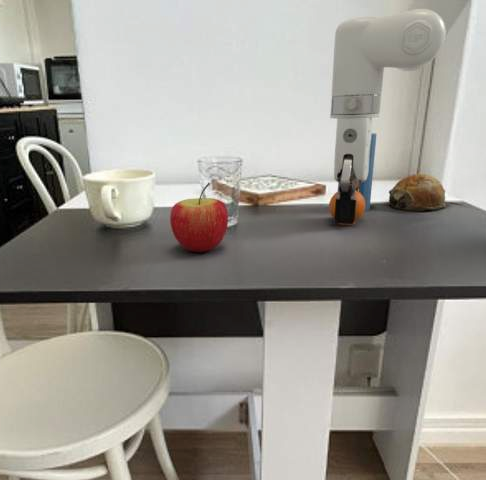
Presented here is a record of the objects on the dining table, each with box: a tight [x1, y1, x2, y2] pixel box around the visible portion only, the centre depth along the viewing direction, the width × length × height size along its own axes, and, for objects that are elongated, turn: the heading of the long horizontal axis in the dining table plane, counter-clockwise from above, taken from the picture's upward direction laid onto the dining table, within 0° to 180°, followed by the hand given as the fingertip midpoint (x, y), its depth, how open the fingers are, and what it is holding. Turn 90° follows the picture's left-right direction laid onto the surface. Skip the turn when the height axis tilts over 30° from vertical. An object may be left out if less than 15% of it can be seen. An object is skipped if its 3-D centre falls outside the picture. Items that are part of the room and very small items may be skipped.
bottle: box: [358, 132, 377, 213], centre depth 83 cm, size 6×6×18 cm
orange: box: [328, 190, 366, 226], centre depth 76 cm, size 6×6×6 cm
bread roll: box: [388, 173, 447, 212], centre depth 85 cm, size 10×10×8 cm
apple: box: [169, 182, 229, 253], centre depth 64 cm, size 8×8×10 cm
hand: (346, 217), depth 76 cm, fingers closed on orange, 5 cm apart
